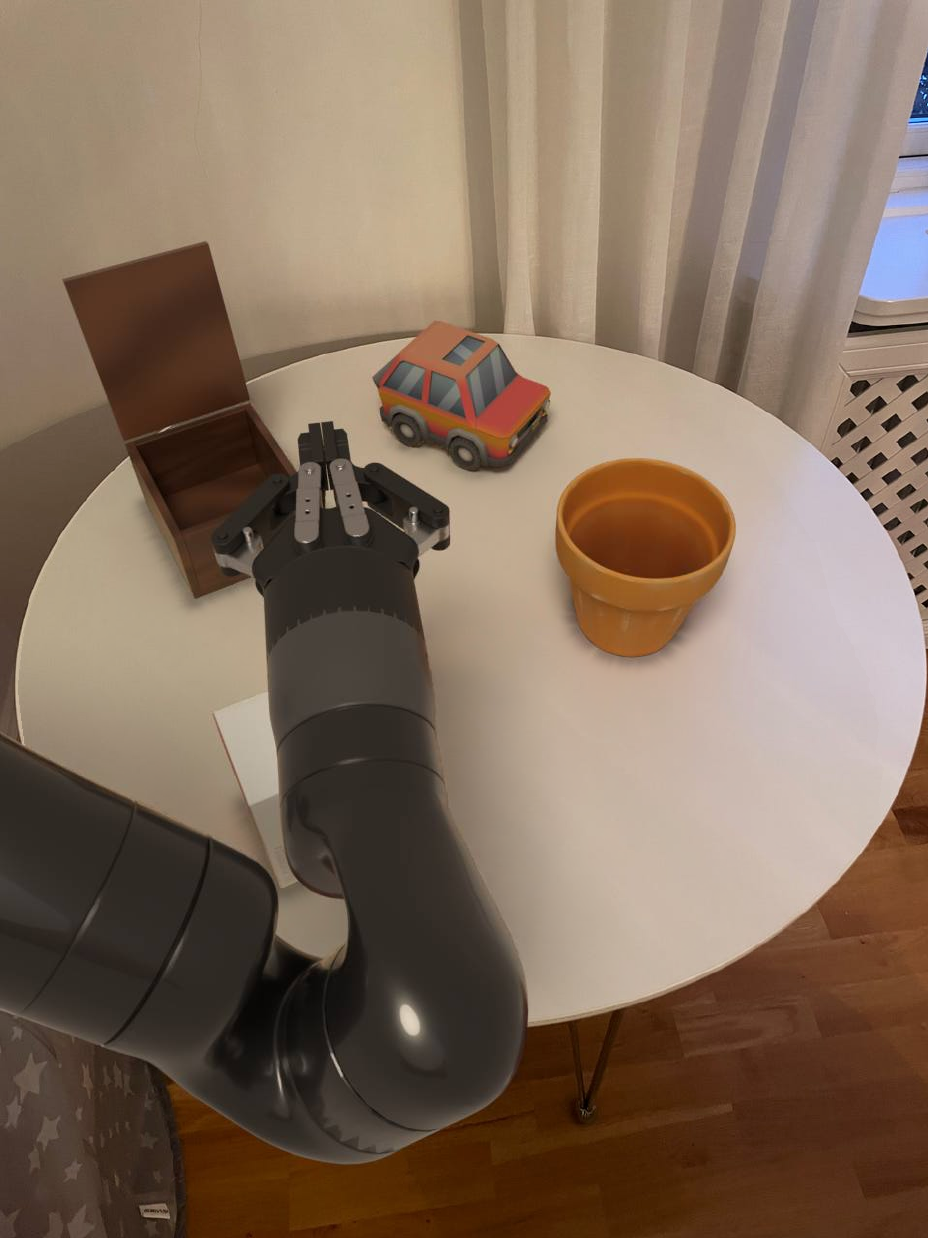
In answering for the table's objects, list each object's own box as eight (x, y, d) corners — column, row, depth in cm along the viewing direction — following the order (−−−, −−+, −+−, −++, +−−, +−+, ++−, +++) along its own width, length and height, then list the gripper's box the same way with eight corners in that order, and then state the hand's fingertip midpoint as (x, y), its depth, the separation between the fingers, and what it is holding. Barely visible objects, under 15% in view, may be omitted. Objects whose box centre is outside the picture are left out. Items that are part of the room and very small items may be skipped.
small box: (245, 803, 73) (209, 709, 62) (322, 771, 74) (299, 675, 64) (279, 893, 68) (247, 807, 58) (360, 857, 70) (342, 767, 60)
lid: (208, 242, 81) (205, 240, 82) (63, 281, 77) (61, 278, 78) (250, 400, 91) (248, 396, 92) (124, 441, 87) (122, 438, 88)
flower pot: (521, 648, 82) (528, 545, 72) (580, 543, 90) (594, 438, 80) (675, 706, 78) (706, 606, 68) (723, 591, 86) (756, 487, 76)
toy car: (502, 486, 96) (506, 407, 88) (368, 431, 101) (360, 352, 94) (556, 425, 102) (563, 346, 94) (427, 376, 107) (423, 298, 100)
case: (320, 550, 90) (309, 490, 84) (194, 599, 86) (174, 539, 80) (263, 462, 98) (250, 402, 92) (146, 503, 94) (124, 443, 88)
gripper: (489, 597, 41) (431, 367, 52) (186, 637, 40) (192, 392, 51) (486, 694, 47) (435, 469, 58) (222, 732, 46) (220, 494, 57)
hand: (321, 434), depth 55 cm, fingers closed
